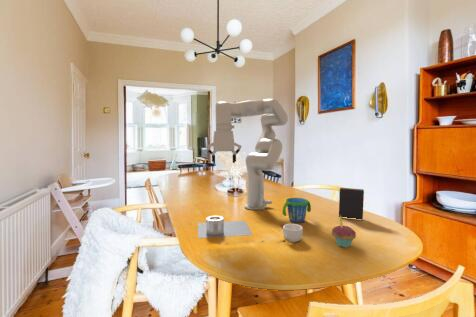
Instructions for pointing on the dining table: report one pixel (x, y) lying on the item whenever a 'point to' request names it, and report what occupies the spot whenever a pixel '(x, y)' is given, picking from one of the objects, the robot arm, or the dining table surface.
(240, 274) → the dining table surface
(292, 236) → the teacup
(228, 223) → the stand
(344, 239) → the cupcake
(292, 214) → the snack cup
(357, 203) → the black upright rectangular panel
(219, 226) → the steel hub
